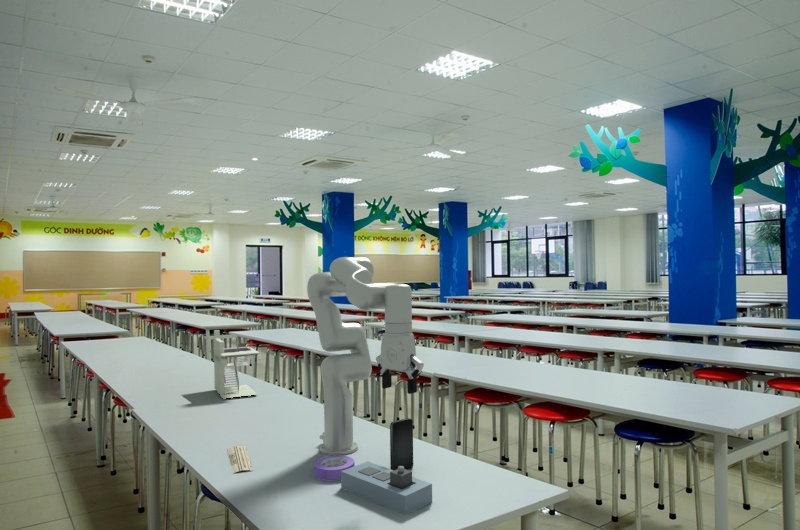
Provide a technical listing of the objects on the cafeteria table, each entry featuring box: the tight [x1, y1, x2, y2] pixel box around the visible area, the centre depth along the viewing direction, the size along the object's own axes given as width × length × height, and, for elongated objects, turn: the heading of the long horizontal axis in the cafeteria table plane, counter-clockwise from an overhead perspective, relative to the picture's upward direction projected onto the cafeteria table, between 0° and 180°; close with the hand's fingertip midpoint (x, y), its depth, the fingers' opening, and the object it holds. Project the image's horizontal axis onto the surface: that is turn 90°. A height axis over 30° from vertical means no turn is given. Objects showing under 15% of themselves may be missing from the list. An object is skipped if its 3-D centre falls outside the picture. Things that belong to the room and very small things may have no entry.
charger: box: [390, 466, 413, 489], centre depth 136 cm, size 4×4×9 cm
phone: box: [389, 417, 414, 470], centre depth 158 cm, size 8×1×15 cm, turn 128°
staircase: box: [213, 329, 261, 400], centre depth 267 cm, size 28×18×30 cm, turn 27°
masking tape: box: [314, 455, 356, 482], centre depth 156 cm, size 12×12×4 cm
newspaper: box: [227, 445, 253, 474], centre depth 168 cm, size 24×7×2 cm, turn 21°
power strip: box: [340, 461, 433, 516], centre depth 142 cm, size 28×10×5 cm, turn 47°
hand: (399, 390), depth 148 cm, fingers open, 9 cm apart
